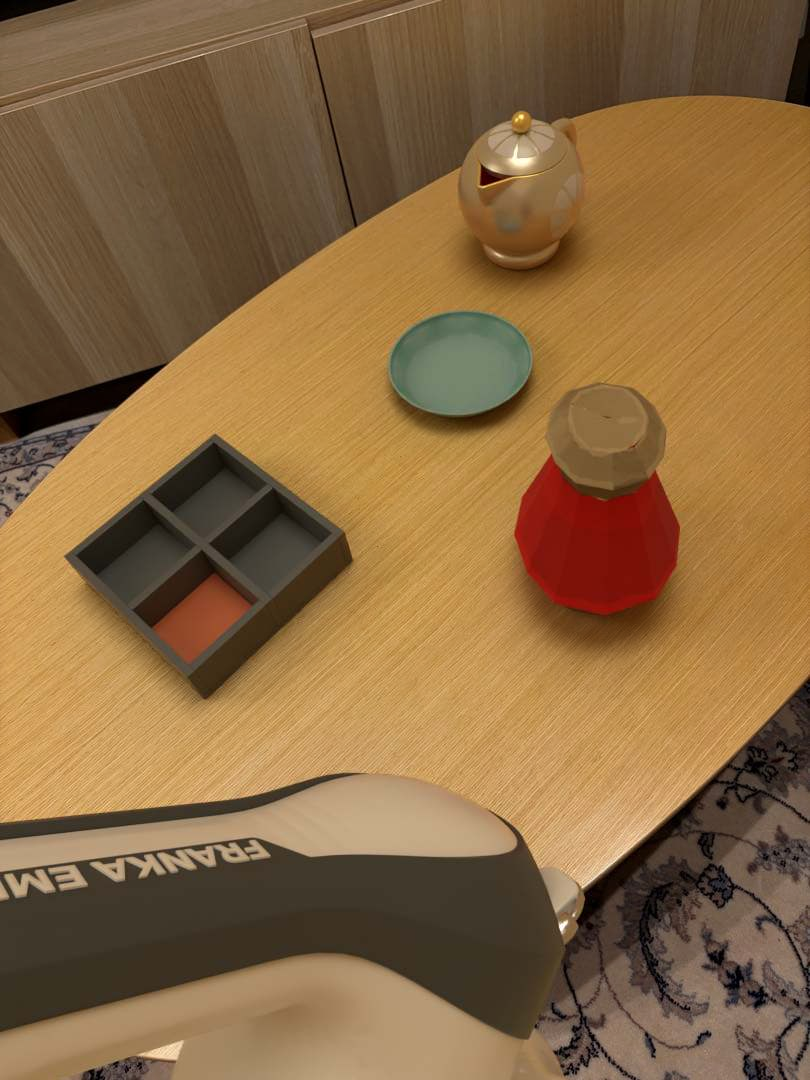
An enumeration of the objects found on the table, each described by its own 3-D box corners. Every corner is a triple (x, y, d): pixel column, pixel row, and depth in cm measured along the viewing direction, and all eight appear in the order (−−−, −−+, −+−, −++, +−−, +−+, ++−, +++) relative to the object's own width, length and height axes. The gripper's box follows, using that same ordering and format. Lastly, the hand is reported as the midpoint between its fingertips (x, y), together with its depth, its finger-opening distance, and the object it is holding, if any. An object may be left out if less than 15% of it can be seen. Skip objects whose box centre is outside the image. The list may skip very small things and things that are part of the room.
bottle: (683, 645, 71) (734, 507, 55) (518, 650, 73) (518, 517, 56) (657, 491, 80) (693, 330, 63) (510, 498, 81) (507, 343, 64)
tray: (205, 700, 73) (187, 677, 69) (85, 582, 81) (63, 556, 77) (353, 560, 79) (344, 531, 75) (228, 463, 87) (214, 432, 83)
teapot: (534, 307, 94) (537, 173, 81) (435, 264, 100) (422, 132, 86) (620, 215, 101) (636, 77, 87) (522, 180, 107) (523, 45, 93)
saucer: (561, 366, 89) (562, 347, 87) (470, 456, 84) (468, 438, 82) (452, 308, 96) (451, 289, 94) (362, 389, 91) (358, 371, 89)
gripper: (568, 851, 39) (440, 763, 51) (190, 1222, 33) (151, 1019, 46) (634, 948, 40) (493, 839, 53) (285, 1317, 35) (222, 1096, 47)
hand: (333, 924), depth 49 cm, fingers open, 8 cm apart
